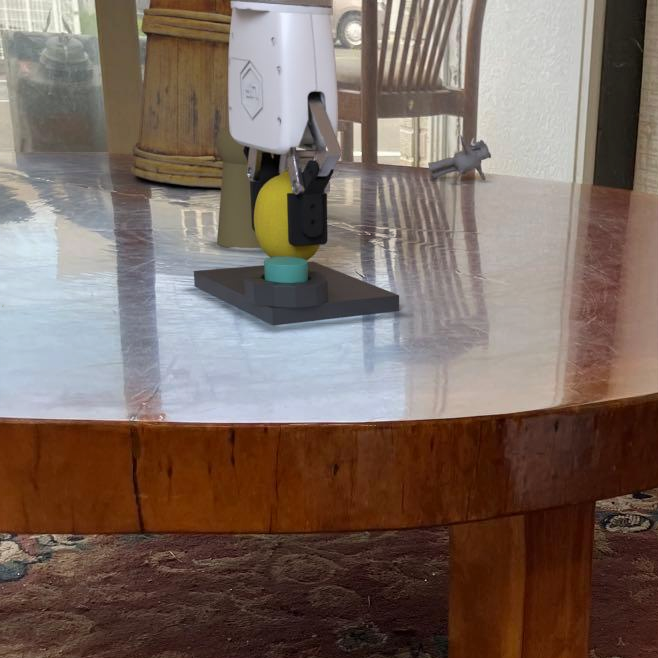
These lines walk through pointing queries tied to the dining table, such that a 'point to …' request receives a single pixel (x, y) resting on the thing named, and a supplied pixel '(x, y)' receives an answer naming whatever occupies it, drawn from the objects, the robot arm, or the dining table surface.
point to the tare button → (286, 269)
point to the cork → (234, 195)
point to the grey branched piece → (462, 160)
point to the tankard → (184, 92)
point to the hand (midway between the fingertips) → (289, 235)
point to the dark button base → (296, 294)
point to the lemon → (277, 220)
